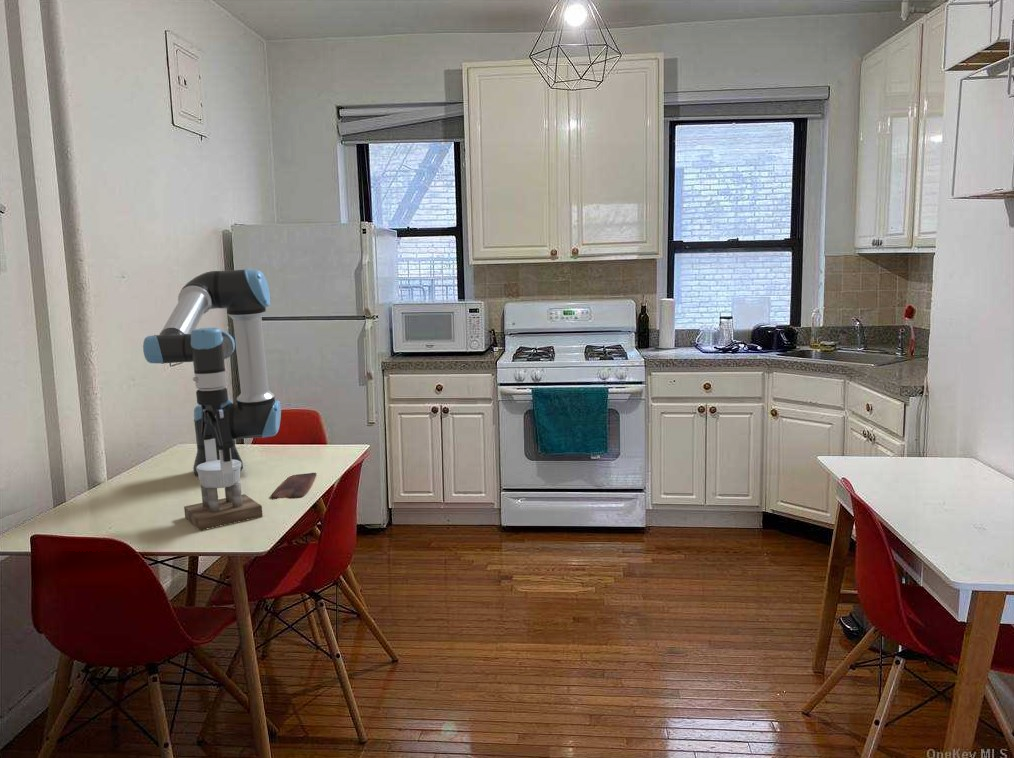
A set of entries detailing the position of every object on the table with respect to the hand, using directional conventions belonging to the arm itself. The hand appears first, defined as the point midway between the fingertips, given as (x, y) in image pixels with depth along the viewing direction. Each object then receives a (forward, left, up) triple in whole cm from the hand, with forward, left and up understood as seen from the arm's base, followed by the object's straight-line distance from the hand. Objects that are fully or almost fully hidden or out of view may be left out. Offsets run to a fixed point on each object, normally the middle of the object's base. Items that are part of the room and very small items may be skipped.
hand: (219, 468), depth 202 cm
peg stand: (0, 0, -13) cm, 13 cm away
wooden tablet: (-15, +26, -14) cm, 33 cm away
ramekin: (0, 0, -4) cm, 4 cm away
